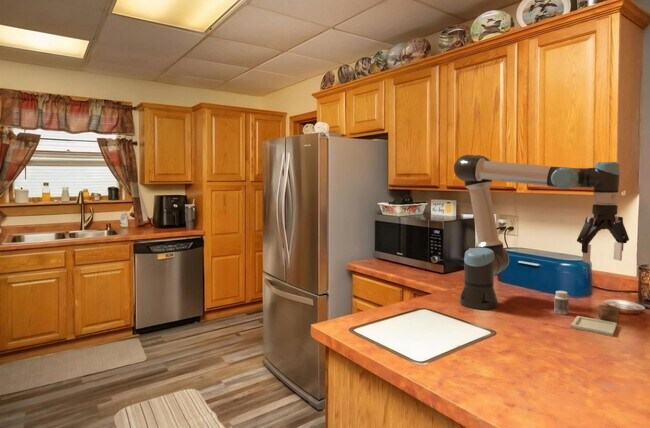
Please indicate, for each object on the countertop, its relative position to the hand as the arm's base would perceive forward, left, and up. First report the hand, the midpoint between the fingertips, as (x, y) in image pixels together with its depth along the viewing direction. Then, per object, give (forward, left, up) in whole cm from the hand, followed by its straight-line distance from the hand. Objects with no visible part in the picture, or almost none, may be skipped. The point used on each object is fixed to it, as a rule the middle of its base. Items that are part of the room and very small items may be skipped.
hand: (601, 260), depth 144 cm
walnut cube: (+3, -2, -22) cm, 22 cm away
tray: (0, -13, -22) cm, 25 cm away
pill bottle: (-12, -3, -22) cm, 25 cm away
